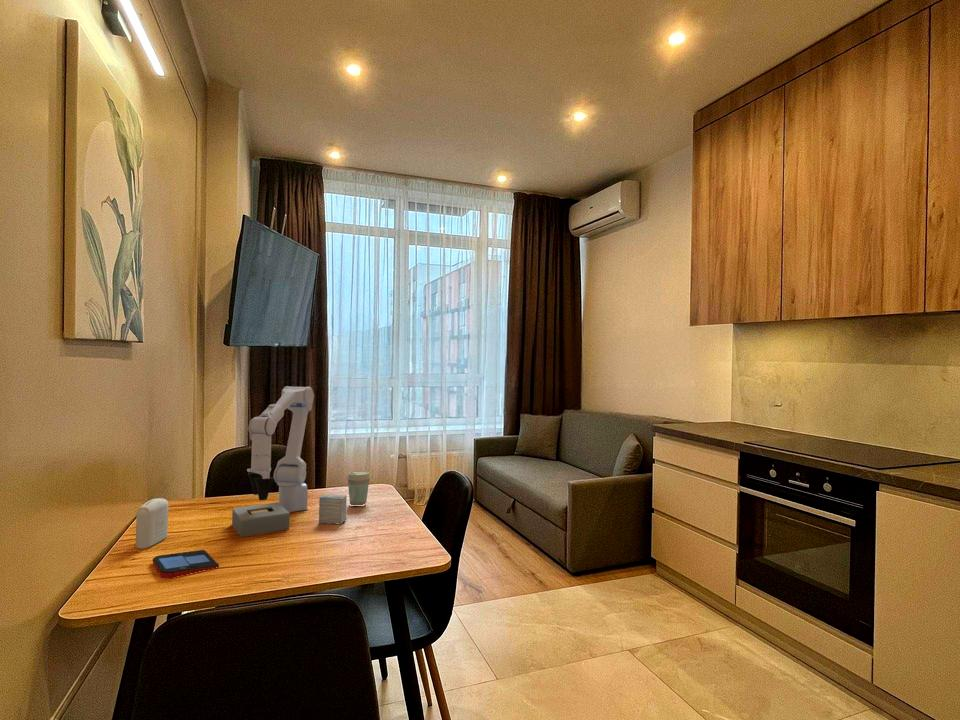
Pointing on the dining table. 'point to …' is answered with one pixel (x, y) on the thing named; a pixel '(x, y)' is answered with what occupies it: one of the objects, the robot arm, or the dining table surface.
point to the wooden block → (259, 511)
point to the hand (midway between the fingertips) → (260, 497)
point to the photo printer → (151, 523)
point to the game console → (183, 563)
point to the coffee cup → (358, 487)
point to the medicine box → (332, 508)
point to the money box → (260, 519)
